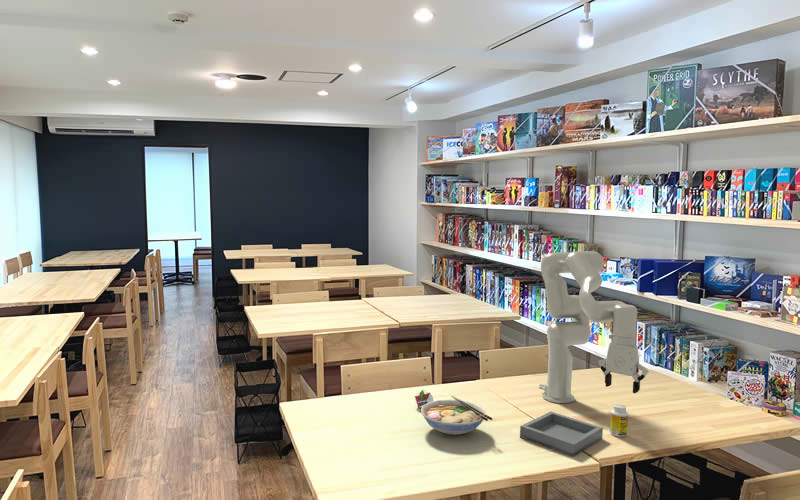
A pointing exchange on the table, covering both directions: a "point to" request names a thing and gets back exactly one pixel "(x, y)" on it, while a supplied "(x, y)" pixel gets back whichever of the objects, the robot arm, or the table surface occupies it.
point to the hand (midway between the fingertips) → (621, 389)
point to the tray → (561, 433)
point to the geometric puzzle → (423, 398)
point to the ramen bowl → (453, 416)
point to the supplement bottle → (619, 421)
